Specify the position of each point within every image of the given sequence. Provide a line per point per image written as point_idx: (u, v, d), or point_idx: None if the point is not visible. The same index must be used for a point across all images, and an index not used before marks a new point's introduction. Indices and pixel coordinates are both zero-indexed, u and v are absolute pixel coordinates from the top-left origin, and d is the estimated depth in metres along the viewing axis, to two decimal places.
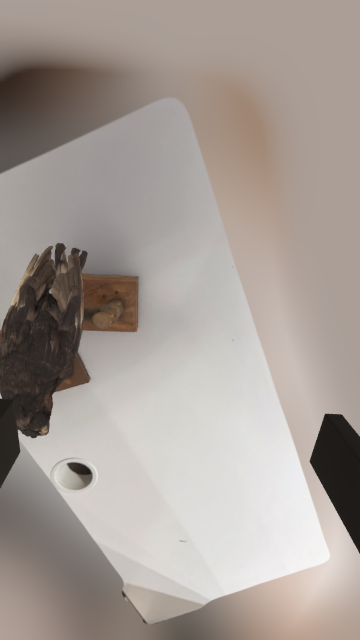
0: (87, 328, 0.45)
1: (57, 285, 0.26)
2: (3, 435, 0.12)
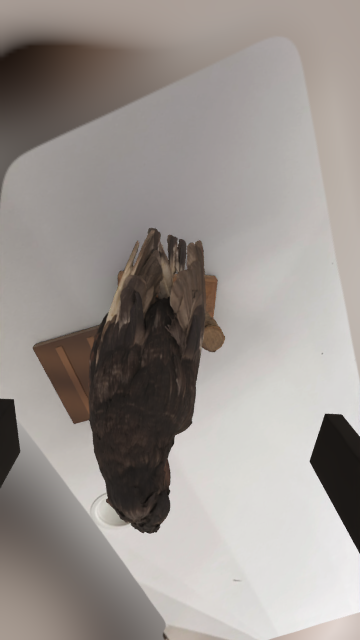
0: None
1: (178, 289, 0.16)
2: (3, 435, 0.12)
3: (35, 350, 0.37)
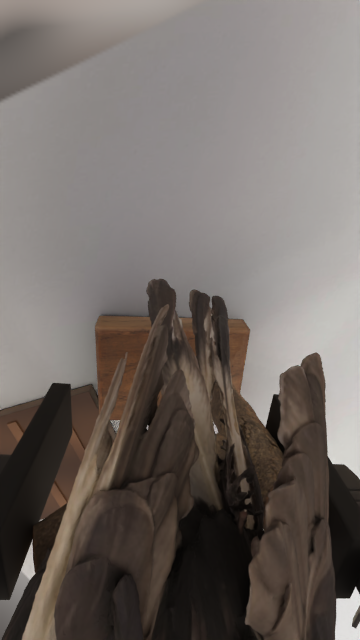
0: None
1: (275, 566, 0.04)
2: (64, 415, 0.13)
3: None
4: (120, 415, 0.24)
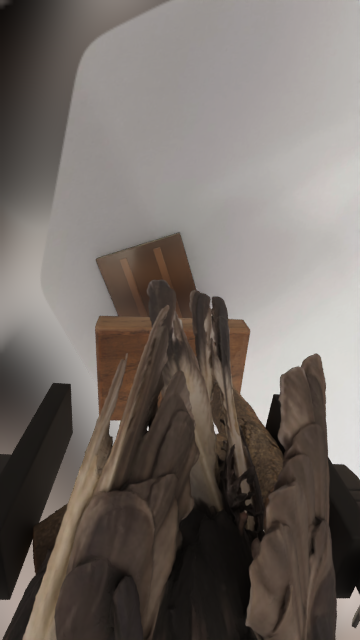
0: None
1: (276, 568, 0.04)
2: (64, 415, 0.13)
3: (98, 262, 0.36)
4: (120, 415, 0.24)
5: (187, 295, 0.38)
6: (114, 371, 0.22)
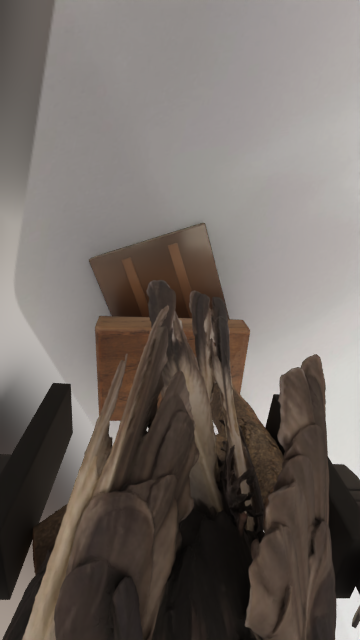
0: None
1: (276, 569, 0.04)
2: (64, 415, 0.13)
3: (92, 264, 0.26)
4: (120, 415, 0.24)
5: None
6: (114, 371, 0.22)
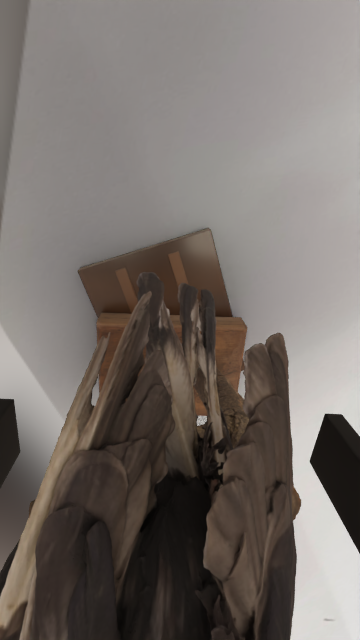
0: None
1: (231, 516, 0.05)
2: (3, 435, 0.12)
3: (82, 275, 0.23)
4: None
5: None
6: None
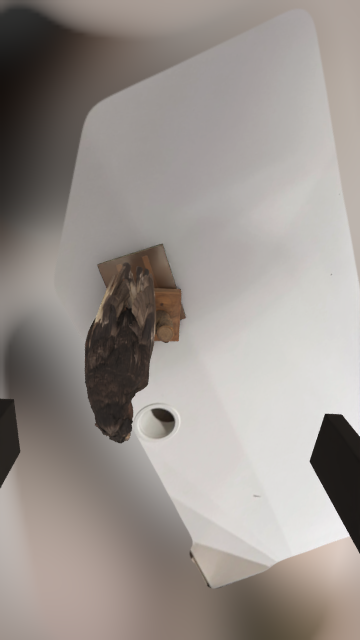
0: None
1: (137, 303, 0.28)
2: (3, 435, 0.12)
3: (99, 267, 0.46)
4: None
5: None
6: None
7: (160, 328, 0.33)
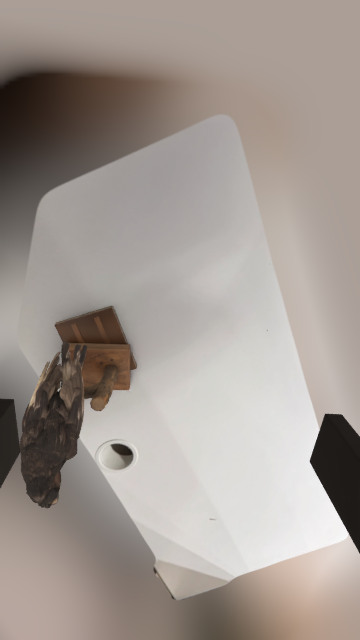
0: None
1: (64, 390, 0.34)
2: (3, 435, 0.12)
3: (56, 326, 0.52)
4: None
5: None
6: None
7: (93, 399, 0.39)
